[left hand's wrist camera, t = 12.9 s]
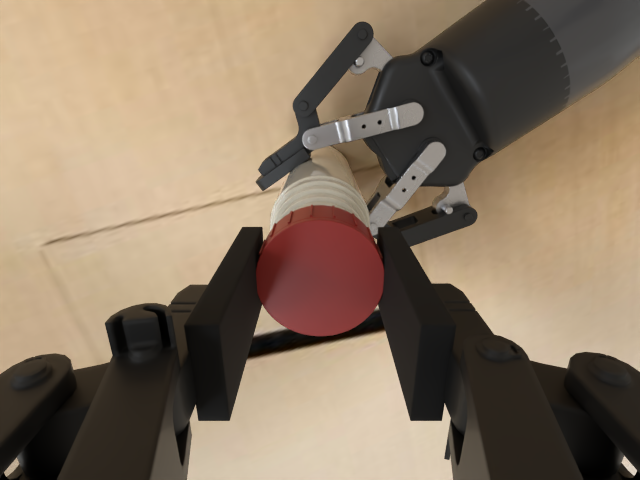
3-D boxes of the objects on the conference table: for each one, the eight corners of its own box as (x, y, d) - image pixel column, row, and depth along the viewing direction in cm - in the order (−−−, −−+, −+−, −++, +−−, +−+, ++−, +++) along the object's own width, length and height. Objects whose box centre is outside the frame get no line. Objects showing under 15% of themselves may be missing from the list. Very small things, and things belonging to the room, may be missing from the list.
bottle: (283, 150, 29) (235, 220, 12) (346, 139, 29) (382, 198, 12) (295, 210, 31) (266, 342, 14) (354, 201, 31) (395, 325, 14)
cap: (240, 276, 15) (230, 300, 13) (301, 179, 13) (298, 192, 12) (336, 329, 16) (338, 357, 14) (402, 242, 14) (413, 262, 13)
